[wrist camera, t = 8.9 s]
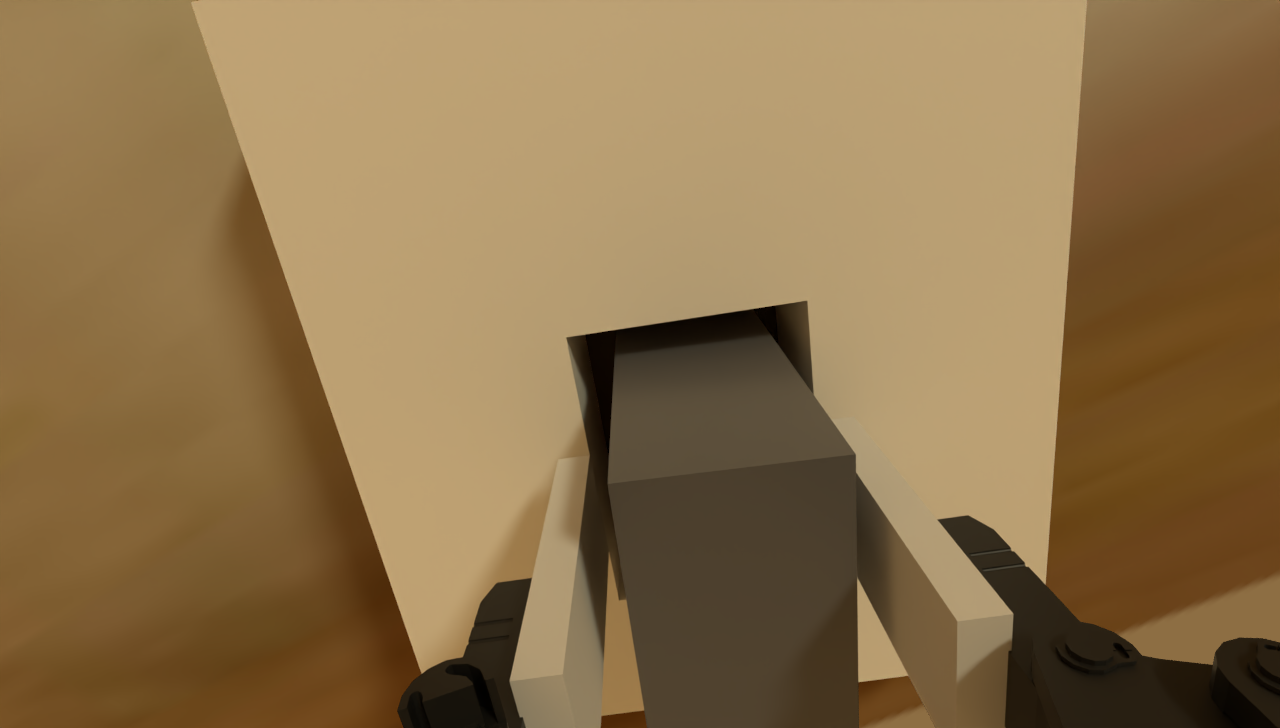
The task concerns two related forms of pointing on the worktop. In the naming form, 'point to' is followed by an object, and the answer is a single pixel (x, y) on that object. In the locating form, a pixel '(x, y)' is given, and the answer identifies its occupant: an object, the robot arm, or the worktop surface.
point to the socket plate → (659, 245)
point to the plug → (732, 530)
